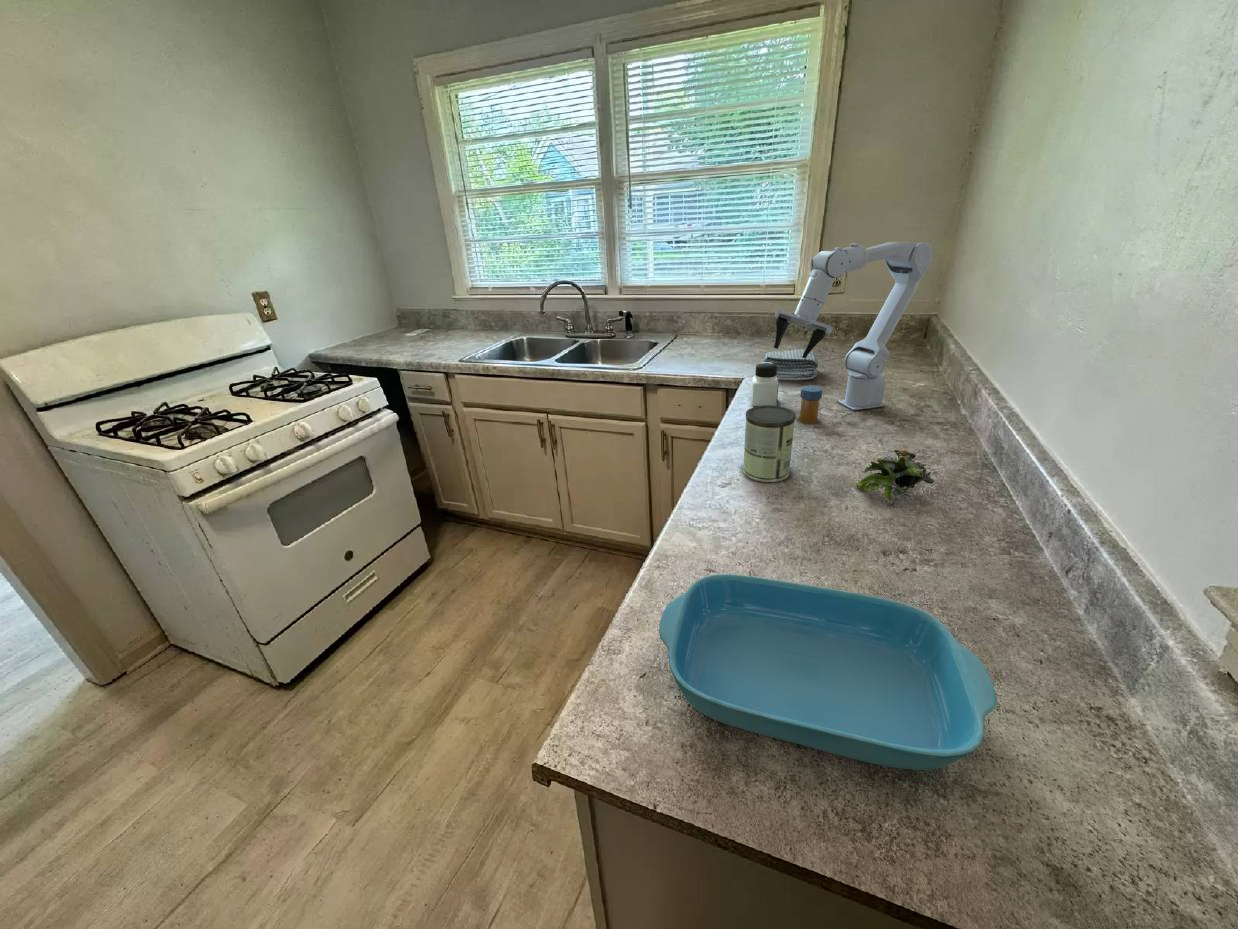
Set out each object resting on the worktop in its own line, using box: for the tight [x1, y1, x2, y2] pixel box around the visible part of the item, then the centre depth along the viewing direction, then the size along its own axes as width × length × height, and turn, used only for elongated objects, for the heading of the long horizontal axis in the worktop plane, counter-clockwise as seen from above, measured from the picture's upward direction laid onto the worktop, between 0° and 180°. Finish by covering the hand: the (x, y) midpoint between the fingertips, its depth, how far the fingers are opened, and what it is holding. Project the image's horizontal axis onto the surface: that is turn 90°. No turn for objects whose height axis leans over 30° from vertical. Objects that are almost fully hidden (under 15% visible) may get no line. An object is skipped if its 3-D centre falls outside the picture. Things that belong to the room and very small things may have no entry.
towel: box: [761, 348, 819, 382], centre depth 171 cm, size 15×18×8 cm
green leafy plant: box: [856, 449, 935, 506], centre depth 98 cm, size 11×11×12 cm
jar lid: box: [800, 384, 823, 401], centre depth 132 cm, size 5×5×2 cm
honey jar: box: [798, 398, 821, 425], centre depth 134 cm, size 5×5×9 cm
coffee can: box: [742, 405, 797, 483], centre depth 108 cm, size 10×10×14 cm
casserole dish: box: [658, 573, 998, 771], centre depth 60 cm, size 37×22×7 cm, turn 72°
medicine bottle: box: [750, 361, 779, 407], centre depth 147 cm, size 7×7×12 cm
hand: (789, 353), depth 128 cm, fingers open, 7 cm apart
